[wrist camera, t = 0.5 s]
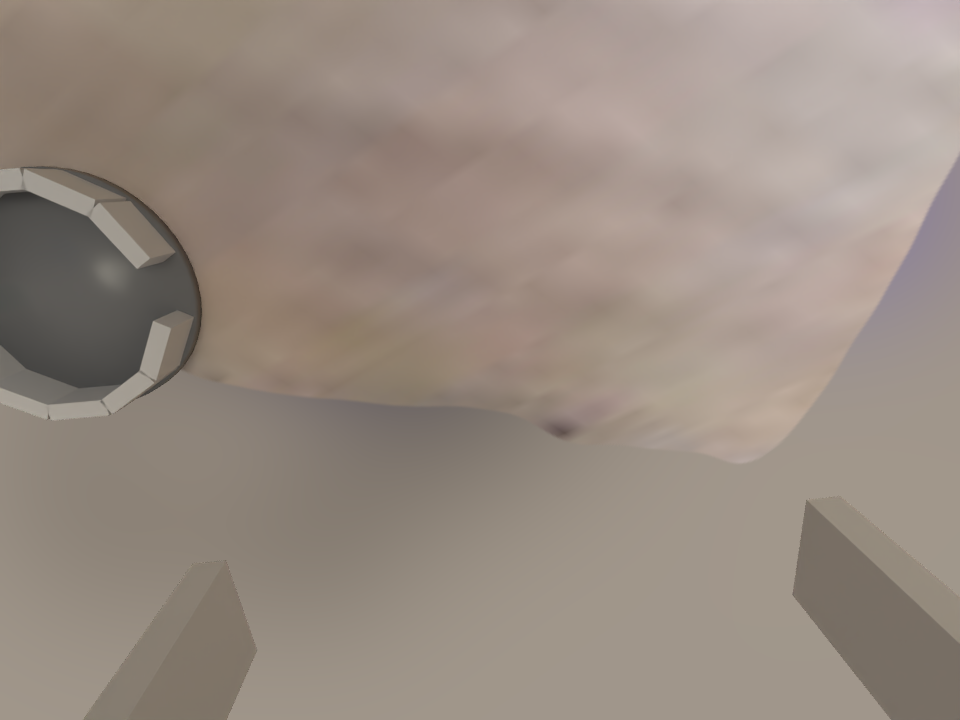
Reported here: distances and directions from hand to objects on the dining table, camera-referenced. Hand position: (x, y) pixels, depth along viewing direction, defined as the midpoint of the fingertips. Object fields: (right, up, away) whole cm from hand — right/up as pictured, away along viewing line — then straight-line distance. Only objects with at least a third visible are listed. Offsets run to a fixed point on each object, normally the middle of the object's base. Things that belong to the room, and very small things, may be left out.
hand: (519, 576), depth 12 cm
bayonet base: (-30, +10, +25) cm, 40 cm away
